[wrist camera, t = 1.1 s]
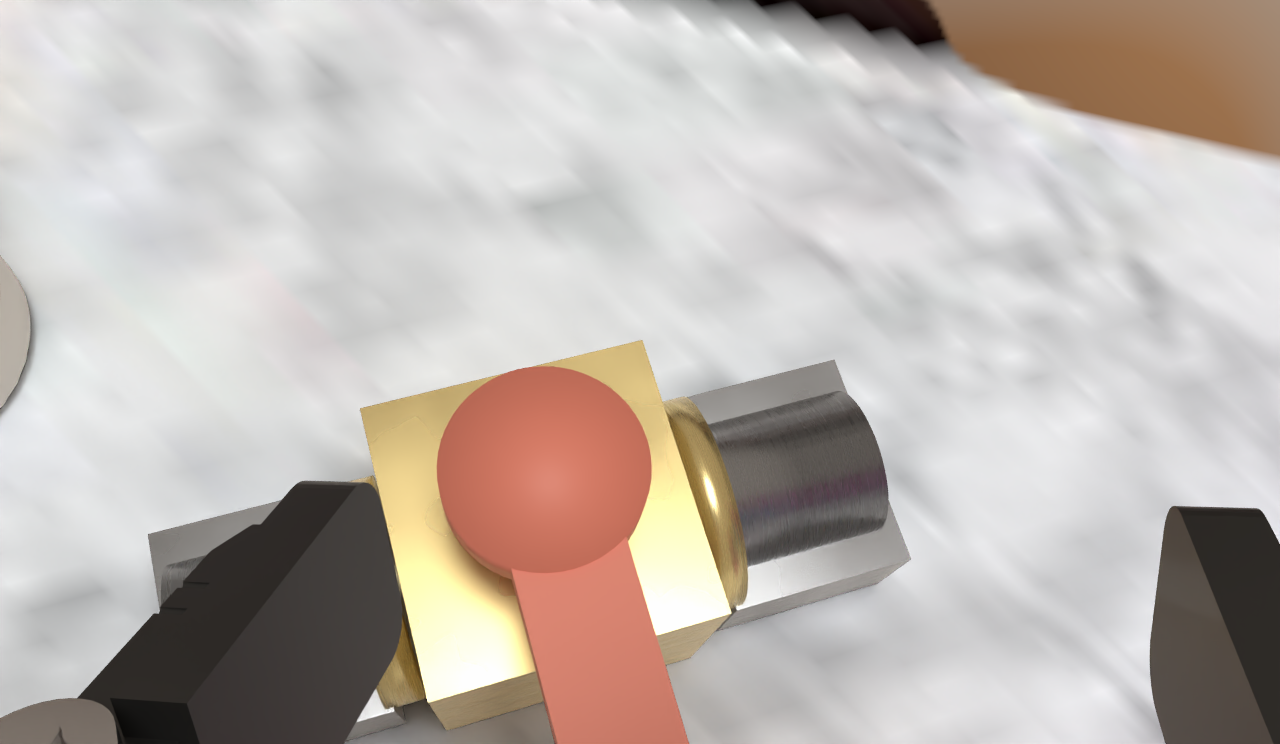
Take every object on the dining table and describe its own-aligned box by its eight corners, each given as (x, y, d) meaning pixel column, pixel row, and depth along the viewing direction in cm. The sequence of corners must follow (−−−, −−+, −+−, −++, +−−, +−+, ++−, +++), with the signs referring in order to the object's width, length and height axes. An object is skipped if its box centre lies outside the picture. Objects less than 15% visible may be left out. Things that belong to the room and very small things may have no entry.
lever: (624, 1234, 20) (712, 1570, 11) (419, 413, 25) (361, 165, 16) (856, 1141, 21) (1124, 1380, 12) (613, 366, 26) (664, 104, 17)
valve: (221, 798, 31) (113, 782, 22) (178, 544, 33) (66, 448, 25) (883, 599, 34) (996, 525, 26) (803, 384, 37) (884, 253, 28)
